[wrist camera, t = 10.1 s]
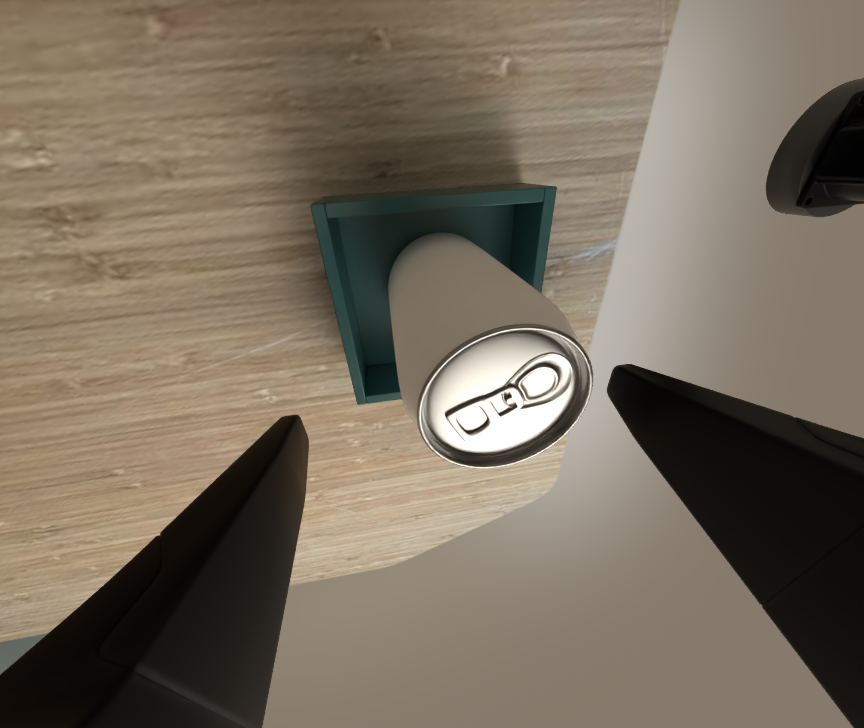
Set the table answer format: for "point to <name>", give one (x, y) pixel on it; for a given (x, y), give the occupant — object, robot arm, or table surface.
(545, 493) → the table surface
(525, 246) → the teal shallow tray
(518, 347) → the can
